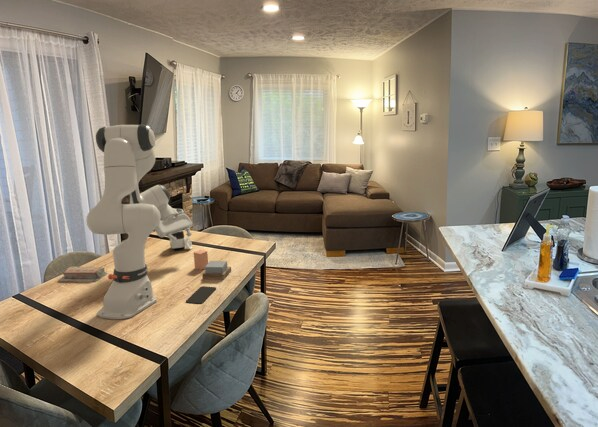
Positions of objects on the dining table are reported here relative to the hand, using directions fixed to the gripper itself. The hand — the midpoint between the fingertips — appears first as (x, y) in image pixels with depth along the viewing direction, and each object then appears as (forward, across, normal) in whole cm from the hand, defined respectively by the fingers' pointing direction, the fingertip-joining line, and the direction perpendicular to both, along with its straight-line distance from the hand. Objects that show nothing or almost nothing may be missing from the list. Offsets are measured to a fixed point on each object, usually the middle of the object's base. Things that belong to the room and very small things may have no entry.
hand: (182, 238), depth 197 cm
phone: (+33, -24, -14) cm, 43 cm away
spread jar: (-4, +17, +23) cm, 29 cm away
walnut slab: (+27, -4, -7) cm, 28 cm away
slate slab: (+25, -4, -9) cm, 27 cm away
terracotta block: (+17, 0, +2) cm, 17 cm away
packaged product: (-11, -35, +30) cm, 47 cm away
